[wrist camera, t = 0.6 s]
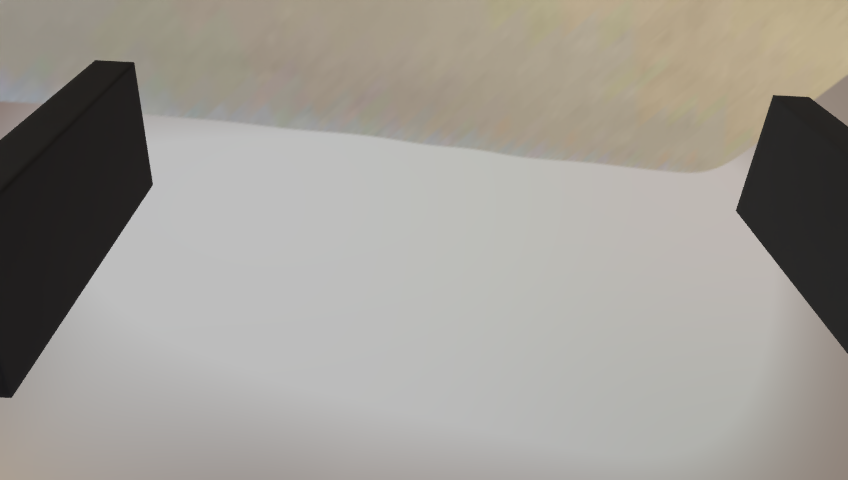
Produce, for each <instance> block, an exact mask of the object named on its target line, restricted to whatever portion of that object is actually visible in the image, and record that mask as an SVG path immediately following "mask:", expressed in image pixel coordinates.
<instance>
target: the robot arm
mask: <svg viewBox="0 0 848 480" xmlns="http://www.w3.org/2000/svg"><path fill="white" fill-rule="evenodd" d="M152 185H153V183H152V176H151V170H150V164H149V157H148V150H147V144H146V137H145V130H144V124H143V117H142V111H141V104H140V98H139V91H138V85H137V78H136V71H135V65H134V62H117V61H98V60H95V61H94V62H93V63H92V64H90V65H89V66H88V67H87V68H86V69H84V70H83V71H82V72H81V73H80V74H78V75H77V76H76V77H75V78H74V79H73V80H71V81H70V82H69V83H68V84H67V85H65V86H64V87H63V88H62V89H61V90H59V91H58V92H57V93H56V94H55V95H53V96H52V97H51V98H50V99H49V100H47V101H46V102H45V103H44V104H43V105H42V106H40V107H39V108H38V109H37V110H36V111H34V112H33V113H32V114H31V115H30V116H28V117H27V118H26V119H25V120H24V121H22V122H21V123H20V124H19V125H18V126H17V127H15V128H14V129H13V130H12V131H11V132H9V133H8V134H7V135H6V136H5V137H3V138H2V139H1V140H0V397H5V398H11V397H12V396H13V395H14V393H15V392H16V390H17V389H18V387H19V386H20V384H21V383H22V381H23V380H24V378H25V377H26V375H27V374H28V372H29V371H30V369H31V368H32V366H33V365H34V363H35V362H36V360H37V359H38V357H39V356H40V354H41V353H42V351H43V350H44V348H45V347H46V345H47V344H48V342H49V341H50V339H51V338H52V336H53V334H54V333H55V331H56V330H57V328H58V327H59V325H60V324H61V322H62V321H63V319H64V318H65V316H66V315H67V313H68V312H69V310H70V309H71V307H72V306H73V304H74V303H75V301H76V300H77V298H78V296H79V295H80V294H81V292H82V291H83V289H84V288H85V286H86V285H87V283H88V282H89V280H90V279H91V277H92V276H93V274H94V272H95V271H96V270H97V268H98V267H99V265H100V264H101V262H102V261H103V259H104V258H105V256H106V254H107V253H108V252H109V250H110V249H111V247H112V246H113V244H114V242H115V241H116V240H117V238H118V236H119V235H120V233H121V232H122V230H123V229H124V227H125V226H126V224H127V223H128V221H129V220H130V218H131V217H132V215H133V214H134V212H135V211H136V209H137V208H138V206H139V205H140V203H141V202H142V200H143V199H144V197H145V196H146V194H147V193H148V191H149V190H150V188H151V187H152ZM736 211H737V213H738V214H739V215H740V217H741V218H742V219H743V220H744V221H745V223H746V224H747V226H748V227H749V228H750V229H751V231H752V232H753V233H754V234H755V236H756V237H757V238H758V240H759V241H760V242H761V243H762V245H763V246H764V247H765V248H766V250H767V251H768V252H769V254H770V255H771V256H772V257H773V259H774V260H775V261H776V263H777V264H778V265H779V266H780V268H781V269H782V270H783V272H784V273H785V274H786V275H787V277H788V278H789V279H790V281H791V282H792V283H793V284H794V286H795V287H796V288H797V289H798V291H799V292H800V293H801V294H802V296H803V297H804V298H805V300H806V301H807V302H808V304H809V305H810V306H811V307H812V309H813V310H814V311H815V312H816V314H817V315H818V316H819V318H820V319H821V320H822V321H823V323H824V324H825V325H826V326H827V328H828V329H829V330H830V332H831V333H832V334H833V336H834V337H835V338H836V339H837V341H838V342H839V343H840V344H841V346H842V347H843V348H844V350H845V351H846V352H847V353H848V127H847V126H846V125H845V124H844V123H842V122H841V121H840V120H838V119H837V118H836V117H834V116H833V115H832V114H831V113H829V112H828V111H827V110H825V109H824V108H823V107H821V106H820V105H818V104H817V103H816V102H815V101H813V100H812V99H811V98H809V97H796V96H776V95H773V98H772V101H771V104H770V107H769V110H768V113H767V116H766V119H765V122H764V125H763V129H762V132H761V135H760V138H759V141H758V144H757V148H756V150H755V153H754V156H753V160H752V163H751V166H750V169H749V172H748V175H747V178H746V181H745V185H744V187H743V190H742V194H741V197H740V200H739V203H738V206H737V209H736Z"/></svg>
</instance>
